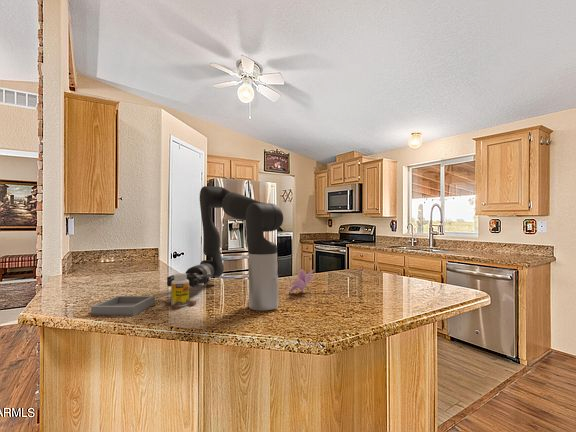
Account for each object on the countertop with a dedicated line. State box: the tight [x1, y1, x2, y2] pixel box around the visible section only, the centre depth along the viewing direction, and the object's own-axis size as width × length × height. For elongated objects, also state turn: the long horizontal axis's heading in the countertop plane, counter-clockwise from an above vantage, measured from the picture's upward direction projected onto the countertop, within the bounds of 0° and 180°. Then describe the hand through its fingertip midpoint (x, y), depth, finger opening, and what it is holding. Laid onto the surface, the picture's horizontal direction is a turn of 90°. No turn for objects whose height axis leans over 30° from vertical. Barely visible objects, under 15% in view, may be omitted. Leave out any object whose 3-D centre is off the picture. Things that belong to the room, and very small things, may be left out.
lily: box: [288, 268, 315, 297], centre depth 115 cm, size 12×12×10 cm
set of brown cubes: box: [164, 300, 197, 310], centre depth 102 cm, size 10×10×1 cm
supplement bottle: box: [170, 272, 190, 308], centre depth 102 cm, size 6×6×10 cm
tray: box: [90, 295, 156, 317], centre depth 98 cm, size 13×13×3 cm
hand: (181, 283), depth 102 cm, fingers open, 8 cm apart
